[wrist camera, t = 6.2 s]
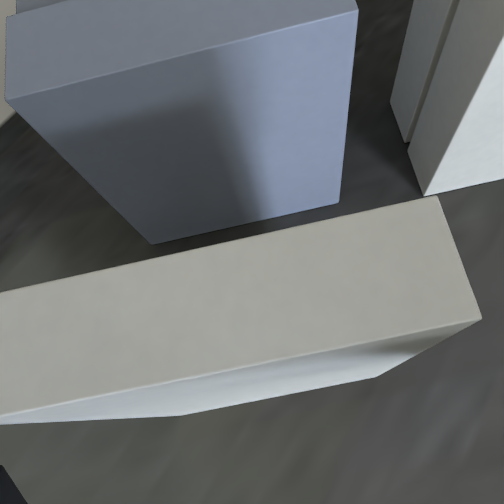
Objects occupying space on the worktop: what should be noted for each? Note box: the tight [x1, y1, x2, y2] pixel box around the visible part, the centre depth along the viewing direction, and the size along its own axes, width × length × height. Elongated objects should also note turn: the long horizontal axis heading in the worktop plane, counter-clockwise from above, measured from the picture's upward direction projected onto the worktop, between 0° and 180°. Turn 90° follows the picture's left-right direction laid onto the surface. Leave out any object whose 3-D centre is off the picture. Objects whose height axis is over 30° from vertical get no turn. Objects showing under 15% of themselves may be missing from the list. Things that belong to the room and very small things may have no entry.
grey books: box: [5, 0, 359, 245], centre depth 21 cm, size 12×11×14 cm
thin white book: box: [0, 196, 482, 424], centre depth 16 cm, size 2×10×15 cm, turn 101°
